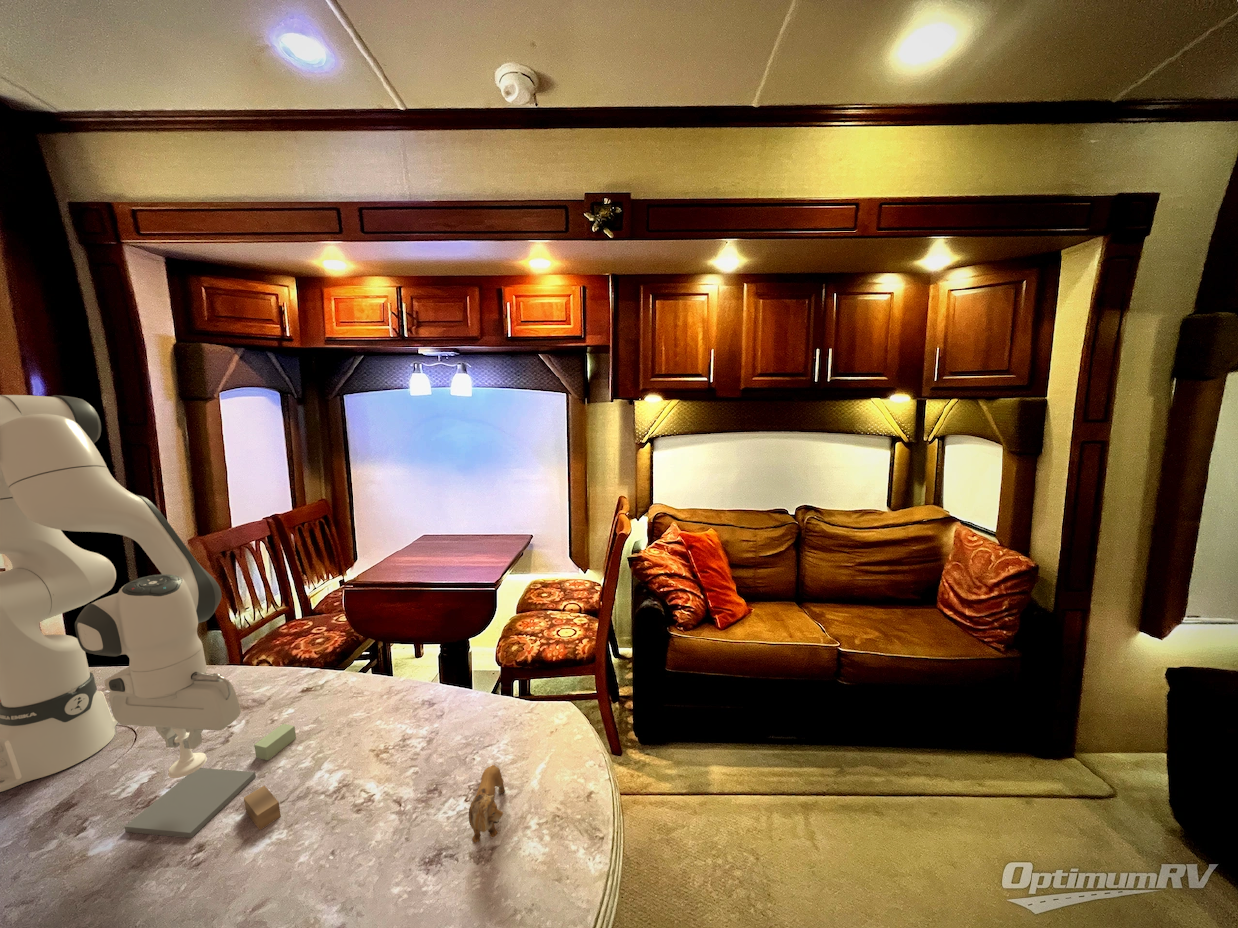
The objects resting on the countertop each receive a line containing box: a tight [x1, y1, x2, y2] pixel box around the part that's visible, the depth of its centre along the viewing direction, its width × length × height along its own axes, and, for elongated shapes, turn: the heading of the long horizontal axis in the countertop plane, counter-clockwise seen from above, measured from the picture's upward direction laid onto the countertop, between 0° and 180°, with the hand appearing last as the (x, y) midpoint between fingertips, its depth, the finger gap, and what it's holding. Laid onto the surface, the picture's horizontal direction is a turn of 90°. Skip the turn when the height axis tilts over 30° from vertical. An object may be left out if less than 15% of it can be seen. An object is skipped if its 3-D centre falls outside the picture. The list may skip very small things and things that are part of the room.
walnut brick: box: [243, 785, 282, 831], centre depth 79 cm, size 6×3×3 cm, turn 56°
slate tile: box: [124, 767, 257, 839], centre depth 81 cm, size 12×12×1 cm
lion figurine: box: [468, 764, 506, 844], centre depth 77 cm, size 15×5×9 cm, turn 14°
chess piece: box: [168, 728, 208, 779], centre depth 79 cm, size 5×5×10 cm
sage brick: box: [253, 723, 297, 761], centre depth 94 cm, size 6×3×3 cm, turn 165°
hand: (184, 745), depth 80 cm, fingers closed on chess piece
